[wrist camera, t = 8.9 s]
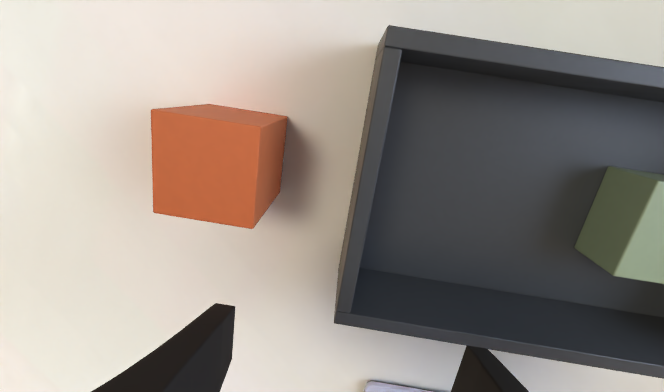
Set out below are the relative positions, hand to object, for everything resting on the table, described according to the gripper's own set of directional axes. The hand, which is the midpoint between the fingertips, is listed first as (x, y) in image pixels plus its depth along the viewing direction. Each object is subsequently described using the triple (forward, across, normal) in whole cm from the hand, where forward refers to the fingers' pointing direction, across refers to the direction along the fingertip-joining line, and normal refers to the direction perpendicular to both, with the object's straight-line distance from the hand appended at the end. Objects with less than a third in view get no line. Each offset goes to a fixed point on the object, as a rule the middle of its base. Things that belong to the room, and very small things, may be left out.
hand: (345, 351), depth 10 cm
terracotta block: (+10, +7, -4) cm, 12 cm away
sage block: (+9, -15, -4) cm, 18 cm away
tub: (+10, -10, -4) cm, 15 cm away
